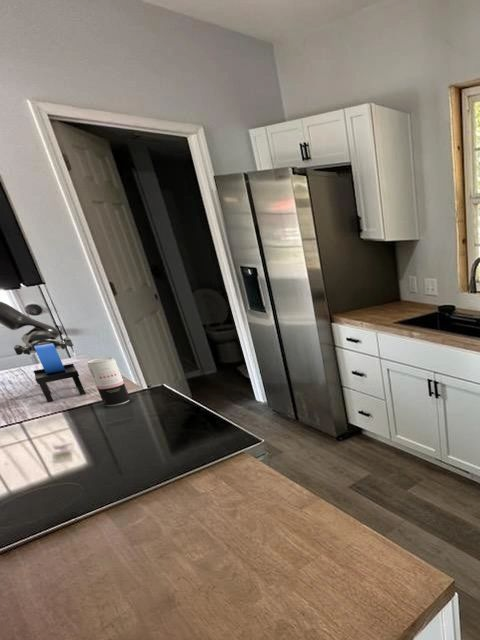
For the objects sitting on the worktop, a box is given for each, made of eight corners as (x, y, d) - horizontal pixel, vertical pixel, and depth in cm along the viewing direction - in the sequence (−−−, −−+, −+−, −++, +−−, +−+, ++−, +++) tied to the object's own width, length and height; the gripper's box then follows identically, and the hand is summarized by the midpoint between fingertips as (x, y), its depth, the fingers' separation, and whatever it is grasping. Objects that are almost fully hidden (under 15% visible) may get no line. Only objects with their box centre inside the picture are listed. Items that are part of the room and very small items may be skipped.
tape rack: (44, 393, 148) (33, 370, 145) (82, 385, 155) (72, 363, 152) (46, 402, 139) (35, 378, 136) (87, 393, 146) (77, 370, 143)
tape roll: (45, 373, 139) (32, 344, 137) (47, 374, 146) (34, 347, 144) (65, 369, 142) (52, 341, 141) (65, 371, 149) (53, 344, 147)
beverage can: (104, 402, 137) (86, 360, 132) (130, 397, 142) (114, 355, 136) (104, 408, 133) (86, 364, 128) (131, 402, 137) (114, 359, 132)
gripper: (10, 336, 150) (10, 343, 140) (65, 329, 160) (69, 334, 150) (19, 356, 152) (20, 364, 142) (73, 347, 162) (77, 354, 152)
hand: (45, 349), depth 146 cm, fingers open, 8 cm apart
